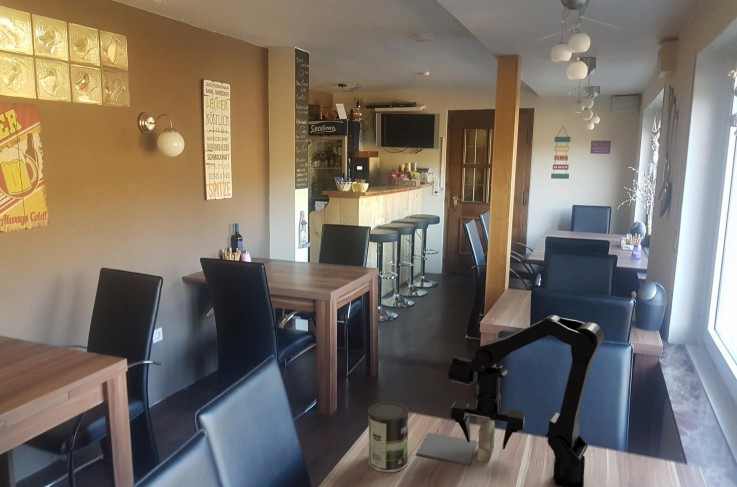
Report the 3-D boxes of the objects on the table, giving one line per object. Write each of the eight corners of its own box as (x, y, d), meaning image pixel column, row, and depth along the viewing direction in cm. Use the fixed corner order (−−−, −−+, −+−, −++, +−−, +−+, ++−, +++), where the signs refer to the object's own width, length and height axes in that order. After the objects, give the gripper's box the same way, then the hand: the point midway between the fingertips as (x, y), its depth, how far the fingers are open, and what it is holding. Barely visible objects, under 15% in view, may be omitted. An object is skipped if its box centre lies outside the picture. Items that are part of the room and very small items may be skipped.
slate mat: (477, 443, 149) (477, 441, 149) (469, 465, 138) (469, 463, 138) (428, 434, 154) (428, 432, 154) (416, 454, 143) (416, 452, 143)
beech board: (494, 449, 146) (495, 421, 145) (490, 462, 140) (491, 433, 138) (482, 446, 147) (483, 419, 146) (477, 459, 141) (478, 431, 140)
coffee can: (410, 453, 144) (410, 403, 142) (405, 475, 134) (405, 421, 132) (372, 449, 146) (372, 400, 144) (364, 470, 136) (364, 417, 134)
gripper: (527, 383, 145) (525, 437, 147) (459, 373, 152) (457, 425, 154) (524, 399, 135) (521, 458, 137) (450, 388, 141) (448, 444, 143)
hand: (486, 445), depth 143 cm, fingers open, 9 cm apart
